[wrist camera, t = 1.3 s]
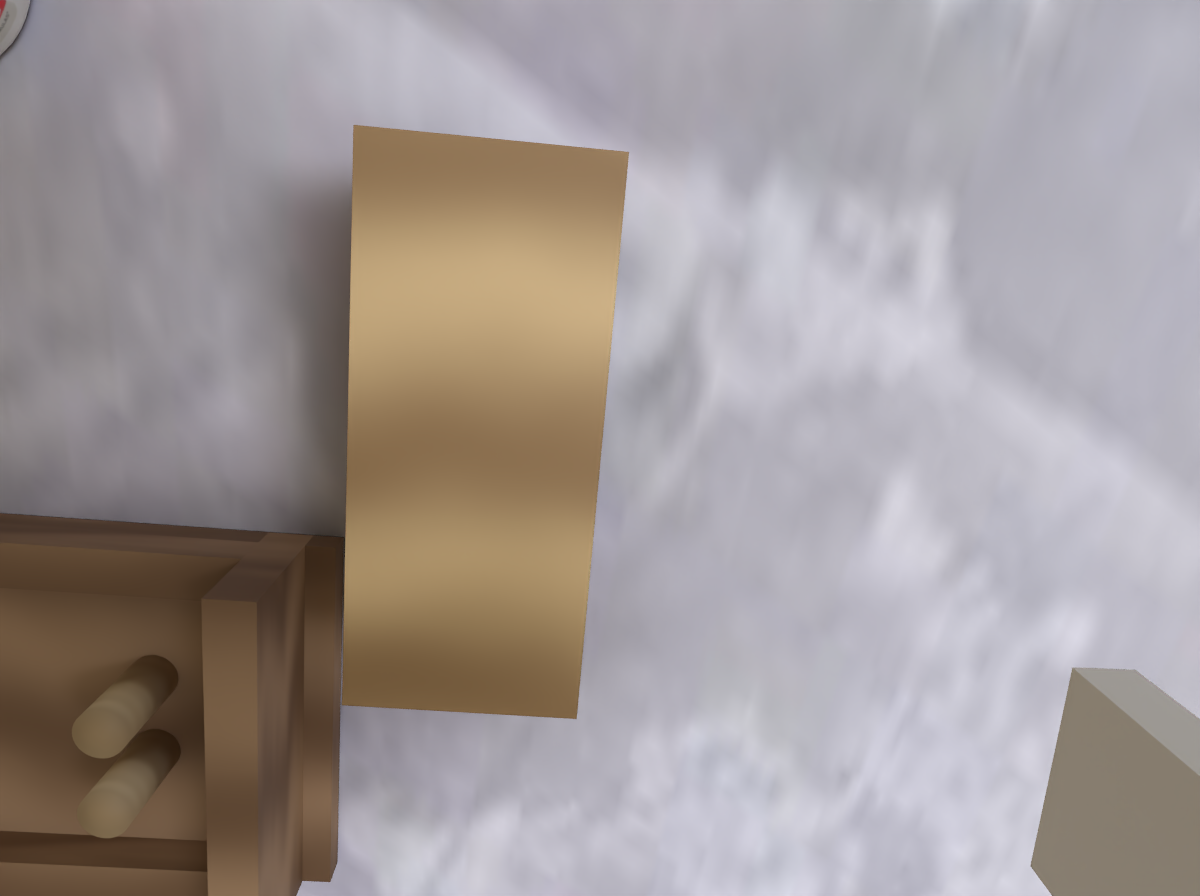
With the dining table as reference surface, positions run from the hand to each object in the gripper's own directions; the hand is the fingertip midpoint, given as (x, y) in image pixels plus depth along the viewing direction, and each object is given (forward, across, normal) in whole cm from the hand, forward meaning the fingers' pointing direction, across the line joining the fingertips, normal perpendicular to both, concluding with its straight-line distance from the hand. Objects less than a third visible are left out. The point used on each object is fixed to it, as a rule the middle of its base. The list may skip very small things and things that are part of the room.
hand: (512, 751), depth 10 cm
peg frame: (+19, -18, -11) cm, 28 cm away
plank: (+15, -2, +1) cm, 15 cm away
